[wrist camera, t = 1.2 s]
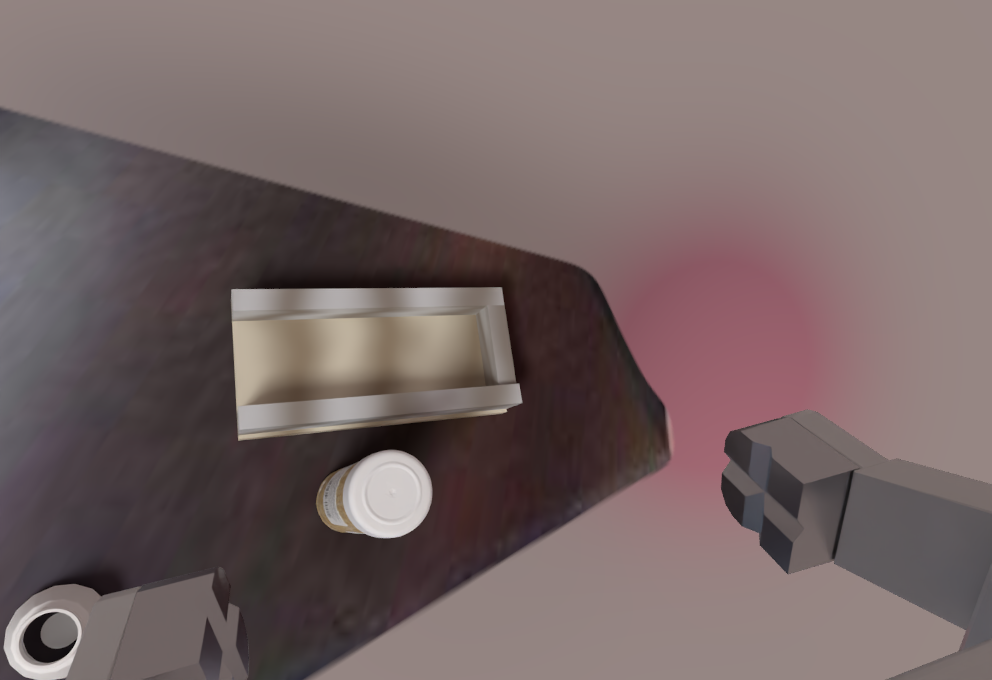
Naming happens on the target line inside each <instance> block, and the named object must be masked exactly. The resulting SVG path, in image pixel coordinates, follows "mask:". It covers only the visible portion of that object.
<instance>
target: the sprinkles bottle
mask: <svg viewBox="0 0 992 680" xmlns="http://www.w3.org/2000/svg"><path fill="white" fill-rule="evenodd" d="M431 501H432V484H431V480H430V477H429V474H428V472H427V470H426V469H425V467H424V466H423V465H422V463H421V462H420V461H419V460H418V459H416V458H415V457H414V456H412V455H410V454H408V453H406V452H403V451H398V450H384V451H380V452H377V453H374V454H371V455H369V456H367V457H365V458H363V459H362V460H361V461H359V462H357V463H355V464H353V465H350V466H348V467H345V468H342V469H339V470H337V471H335V472H333V473H331V474H330V475H329V476H328V477H326V479H325V480H324V481H323V482H322V484H321V485H320V488H319V491H318V494H317V499H316V505H317V510H318V514H319V515H320V517H321V519H322V521H323V522H324V523H325V524H326V525H327V526H328V527H330V528H331V529H333V530H335V531H339V532H343V533H345V532H350V533H358V534H367V535H369V536H372V537H377V538H394V537H399V536H402V535H405V534H407V533H409V532H411V531H412V530H414V529H415V528H416V527H417V526H418V525H419V524H420V523H421V522H422V521H423V519H424V518H425V517H426V515H427V513H428V511H429V508H430V505H431Z"/></svg>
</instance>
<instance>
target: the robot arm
mask: <svg viewBox="0 0 992 680" xmlns="http://www.w3.org/2000/svg"><path fill="white" fill-rule="evenodd" d="M724 452H725V453H726V455H727V456H728V457H729V458H730V460H731V461H730V462H729V464H728V465H727V467H726V468H725V469H724V471H723V472H722V483H721V490H722V493H723V497H724V500H725V504H726V506H727V507H728V509H729V511H730V512H731V514H732V516H733V517H734V518H735V519H736V520H737V521H738V522H739V523H740V525H741V526H743V527H745V528H747V529H750V530H752V531H755V532H757V533H759V540H760V546H761V547H762V548H763V549H764V550H765V551H766V552H767V553H768V554H769V555H770V556H771V557H772V558H773V559H774V560H775V561H776V563H777V564H778V565H779V566H780V567H781V568H782V569H783V570H784V571H785V572H786V573H787V574H791V573H794V572H798V571H801V570H804V569H808V568H811V567H815V566H818V565H822V564H825V563H828V562H832V561H834V564H836V565H838V566H840V567H842V568H844V569H846V570H848V571H850V572H852V573H854V574H856V575H858V576H860V577H862V578H864V579H866V580H868V581H870V582H872V583H873V584H876V585H877V586H880V587H881V588H883V589H885V590H888V591H889V592H891V593H893V594H895V595H897V596H899V597H901V598H903V599H905V600H907V601H909V602H911V603H913V604H915V605H917V606H919V607H921V608H923V609H925V610H927V611H929V612H931V613H933V614H935V615H937V616H939V617H941V618H943V619H945V620H947V621H949V622H951V623H953V624H955V625H957V626H959V627H961V628H963V629H965V630H966V633H965V635H964V638H963V641H962V643H961V646H960V649H959V651H958V652H956V653H953V654H951V655H948V656H945V657H943V658H940V659H938V660H935V661H933V662H930V663H927V664H925V665H922V666H920V667H918V668H915V669H912V670H910V671H907V672H904V673H902V674H899V675H897V676H895V677H892V678H889V679H887V680H992V484H988V483H985V482H982V481H978V480H974V479H970V478H966V477H963V476H959V475H956V474H952V473H949V472H945V471H941V470H937V469H934V468H930V467H926V466H923V465H919V464H915V463H912V462H908V461H904V460H901V459H894V460H890V461H889V460H888V459H886V458H885V457H883V456H882V455H880V454H879V453H877V452H876V451H874V450H873V449H871V448H870V447H868V446H867V445H865V444H864V443H862V442H861V441H859V440H858V439H857V438H855V437H854V436H852V435H850V434H849V433H848V432H846V431H845V430H843V429H842V428H840V427H839V426H837V425H836V424H834V423H833V422H831V421H830V420H828V419H827V418H825V417H824V416H823V415H821V414H820V413H818V412H816V411H812V410H804V411H800V412H797V413H794V414H790V415H786V416H783V417H781V418H779V419H774V420H770V421H767V422H763V423H760V424H756V425H752V426H749V427H745V428H741V429H738V430H734V431H730V433H729V434H728V436H727V438H726V440H725V448H724ZM230 588H231V585H230V583H229V581H228V579H227V576H226V574H225V572H224V569H222V568H220V567H215V568H211V569H207V570H203V571H199V572H195V573H190V574H186V575H182V576H178V577H174V578H170V579H166V580H162V581H157V582H153V583H149V584H145V585H143V586H141V587H136V588H131V589H127V590H123V591H119V592H115V593H111V594H107V595H103V596H102V597H101V598H100V599H99V600H98V601H97V602H96V603H95V605H94V606H93V609H92V611H91V614H90V617H89V619H88V622H87V625H86V627H85V630H84V633H83V635H82V638H81V640H80V643H79V646H78V648H77V651H76V654H75V656H74V659H73V662H72V664H71V667H70V669H69V672H68V675H67V677H66V680H246V679H247V678H248V669H249V649H248V636H247V632H246V627H245V623H244V619H243V617H242V614H241V611H240V609H239V608H238V607H236V606H234V605H232V604H230V603H229V596H230Z"/></svg>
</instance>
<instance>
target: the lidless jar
mask: <svg viewBox="0 0 992 680" xmlns="http://www.w3.org/2000/svg"><path fill="white" fill-rule="evenodd" d="M100 598H101V596H100V595H99V594H98V593H97V592H96V591H94V590H93V589H92V588H88V587H85V586H81V585H77V584H68V585H58V586H53V587H51V588H49V589H46V590H44V591H42V592H40V593H37V594H35V595H33V596H32V597H31V598H30V599H29V600H27V601H26V602H25V603H24V604H23V605H22V606H21V607H20V608H19V609H17V610H16V612H15V614H14V616H13V618H12V619H11V621H10V623H9V625H8V626H7V628H6V634H5V642H4V650H5V653H6V655H7V658H8V661H9V664H10V665H11V666H12V667H13V668H14V669H15V670H17V671H18V672H19V673H20V674H21V675H22V676H24V677H27V678H32V679H36V680H55V679H61V678H65V677H67V675H68V672H69V669H70V667H71V664H72V662H73V659H74V656H75V654H76V651H77V648H78V646H79V643H80V640H81V638H82V635H83V633H84V630H85V627H86V625H87V622H88V619H89V617H90V614H91V611H92V609H93V606H94V605H95V603H96V602H97V601H98V600H99V599H100ZM49 612H60V613H57V614H54V615H53V616H51V617H50V618H48V619H47V620H46V622H45V623H44V624H43V626H42V629H41V640H42V642H43V643H44V644H45V645H46V646H48V647H50V648H54V649H59V648H63V647H66V646H68V645H70V644H71V643H73V642H74V641H75V640H76V638H77V641H76V643H75V645H74V647H73V649H72V650H71V651H70V652H69V653H68V654H67V655H66V656H65V657H63V658H62V659H60V660H57V661H55V662H51V663H42V662H38V661H36V660H35V659H34V658H33V657H31V656H30V655H29V654H28V653H27V651H26V648H25V645H24V643H23V637H24V632H25V630H26V629H27V627H28V626H29V624H30V623H31V622H32V621H33V620H34V619H36V618H37V617H38V616H40V615H43V614H45V613H49Z"/></svg>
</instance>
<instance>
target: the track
mask: <svg viewBox="0 0 992 680" xmlns="http://www.w3.org/2000/svg"><path fill="white" fill-rule="evenodd" d="M231 310H232V330H233V349H234V368H235V387H236V407H237V426H238V441H240V440H250V439H259V438H269V437H279V436H289V435H298V434H308V433H318V432H328V431H338V430H347V429H357V428H367V427H377V426H387V425H396V424H406V423H416V422H426V421H436V420H445V419H455V418H465V417H475V416H485V415H494V414H502V413H505V412H507V410H506V409H507V408H510V407H513V406H515V405H518V404H520V403H522V398H521V392H520V385H519V384H516V378H515V372H514V365H513V358H512V352H511V345H510V339H509V332H508V326H507V319H506V313H505V306H504V299H503V293H502V287H486V288H350V289H232V293H231Z"/></svg>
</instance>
